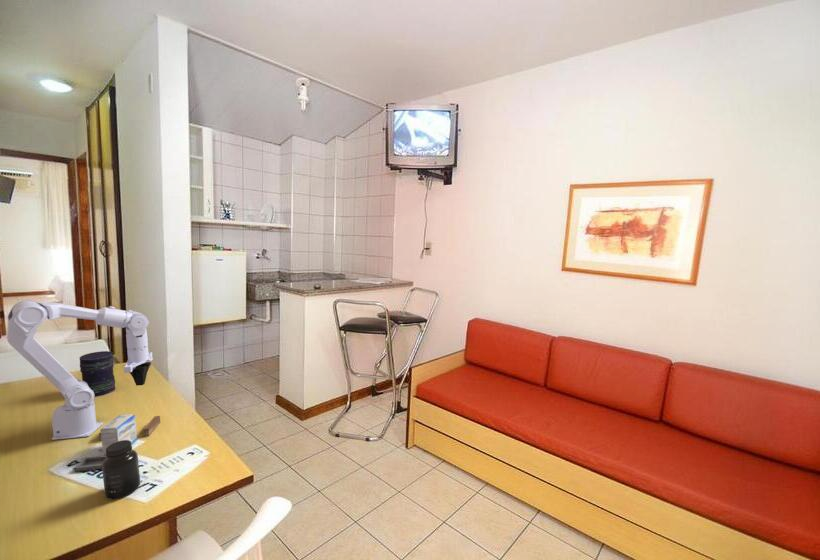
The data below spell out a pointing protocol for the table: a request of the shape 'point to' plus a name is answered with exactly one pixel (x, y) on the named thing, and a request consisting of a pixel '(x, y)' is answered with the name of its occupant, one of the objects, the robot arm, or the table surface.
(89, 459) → the dark grey flat tray
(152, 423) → the lane wall right
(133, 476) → the supplement bottle
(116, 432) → the medicine box
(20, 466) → the table surface
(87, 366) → the storage jar
